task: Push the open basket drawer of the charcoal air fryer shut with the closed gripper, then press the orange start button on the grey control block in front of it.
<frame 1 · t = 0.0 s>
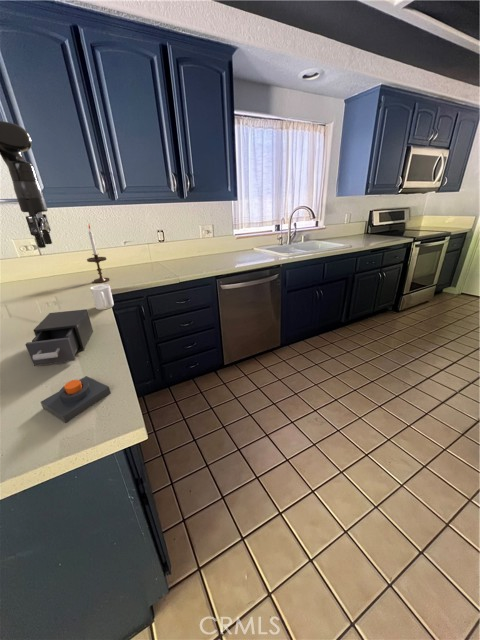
hand: (45, 245, 96), 32 cm above the worktop, tool pointing down, fingers open, 8 cm apart
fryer: (70, 342, 97), on the worktop
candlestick: (102, 281, 170), on the worktop
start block: (78, 400, 69), on the worktop
start button: (73, 386, 67), point 4 cm above the worktop, slide at 0.1 cm
drawer: (55, 345, 85), point 5 cm above the worktop, slide at 7.0 cm
cup: (105, 308, 128), on the worktop
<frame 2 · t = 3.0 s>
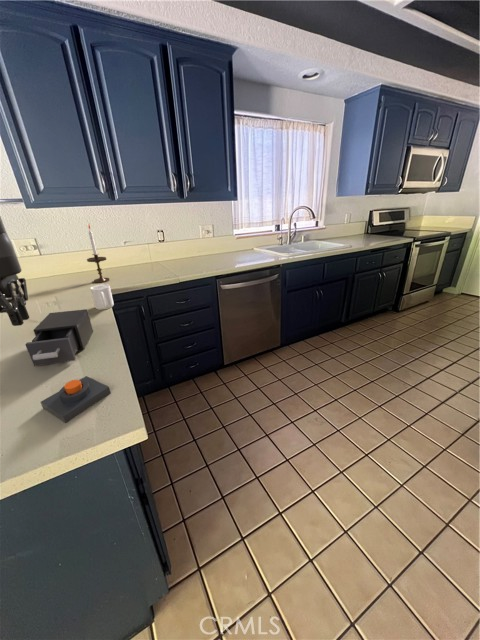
hand: (21, 322, 68), 19 cm above the worktop, tool pointing down, fingers open, 3 cm apart
nothing on the worktop moved.
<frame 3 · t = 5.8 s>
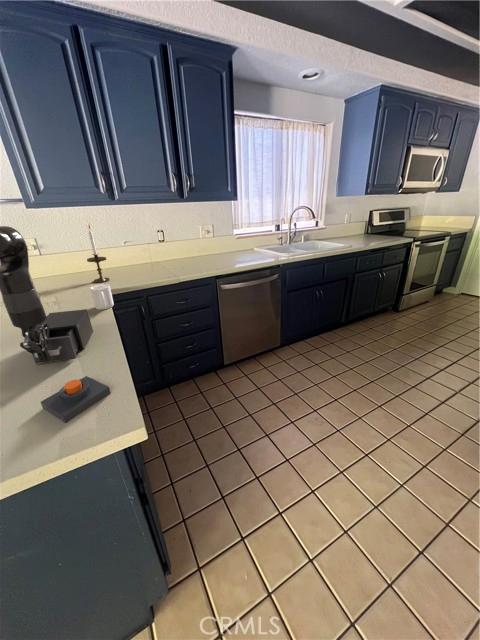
hand: (45, 360, 77), 5 cm above the worktop, tool pointing down, fingers closed
drawer: (57, 343, 87), point 5 cm above the worktop, slide at 5.6 cm, touching gripper
everything else where it was.
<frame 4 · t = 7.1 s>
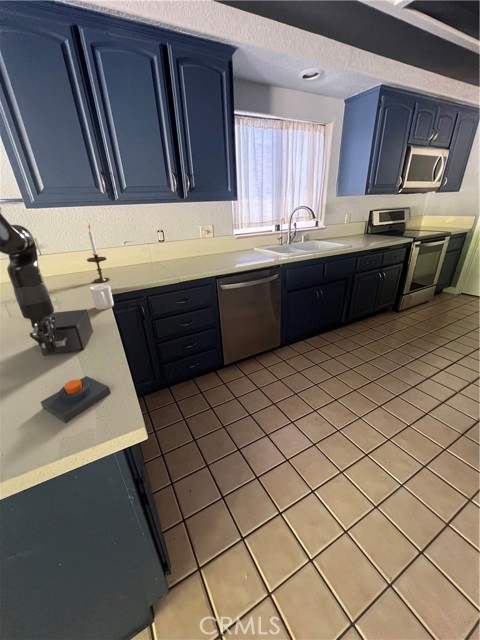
hand: (52, 351, 82), 5 cm above the worktop, tool pointing down, fingers closed
drawer: (62, 335, 91), point 5 cm above the worktop, slide at 0.0 cm, touching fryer, gripper
everything else where it was.
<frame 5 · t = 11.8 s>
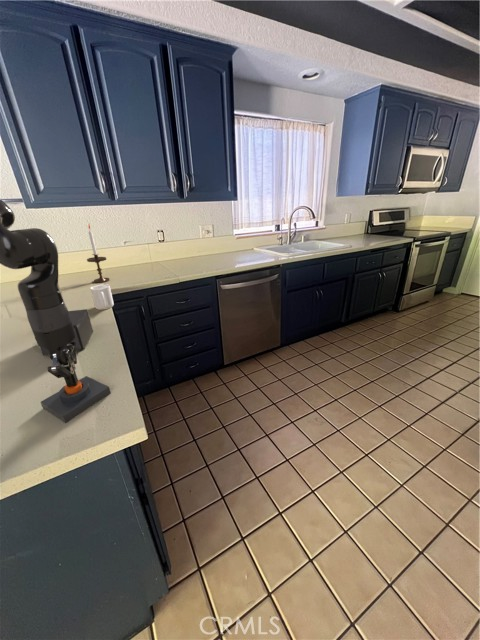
hand: (73, 384, 67), 5 cm above the worktop, tool pointing down, fingers closed
start button: (73, 387, 67), point 4 cm above the worktop, slide at -0.2 cm, touching gripper
drawer: (62, 335, 91), point 5 cm above the worktop, slide at 0.0 cm, touching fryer
everything else where it was.
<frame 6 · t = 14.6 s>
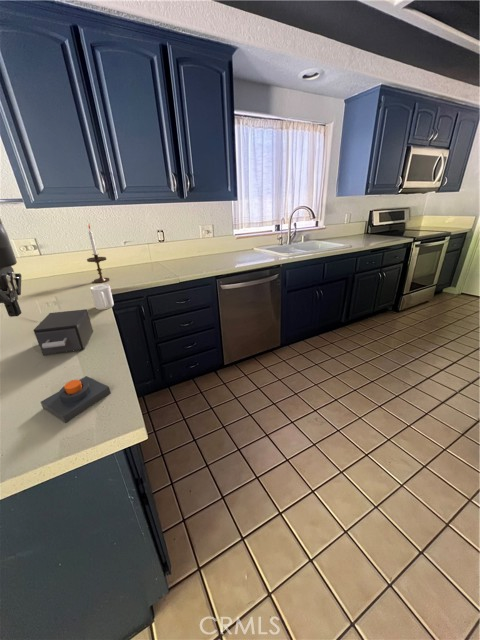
hand: (15, 315, 67), 21 cm above the worktop, tool pointing down, fingers closed
start button: (73, 386, 67), point 4 cm above the worktop, slide at 0.1 cm
everything else where it was.
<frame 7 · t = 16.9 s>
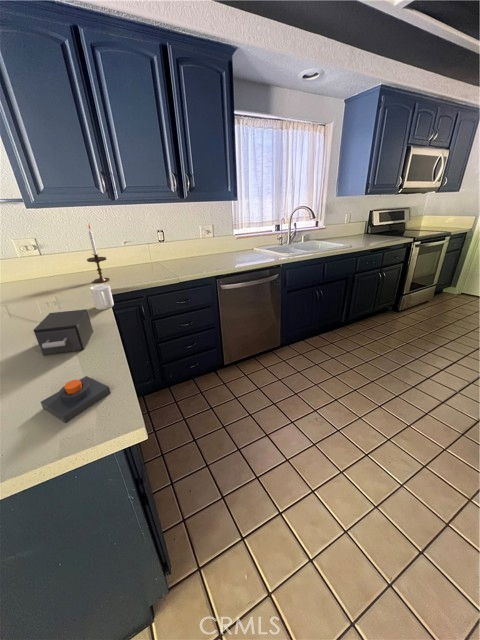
nothing on the worktop moved.
at the end: drawer slide at 0.0 cm; start button pushed in 1.1 cm at the most during the clip, back to where it started at the end; start button slide at 0.1 cm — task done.
